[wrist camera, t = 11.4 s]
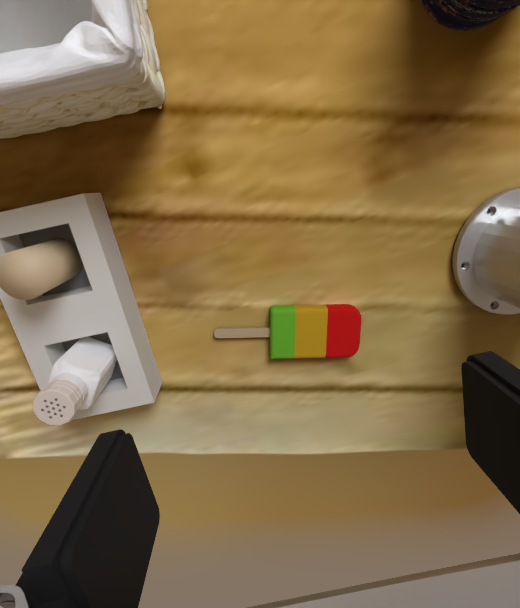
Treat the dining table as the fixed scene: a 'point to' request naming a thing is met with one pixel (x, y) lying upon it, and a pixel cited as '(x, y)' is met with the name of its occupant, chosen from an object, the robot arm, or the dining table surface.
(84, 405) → the pepper shaker
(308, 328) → the popsicle
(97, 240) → the block
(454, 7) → the storage jar
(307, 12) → the dining table surface
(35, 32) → the storage basket
